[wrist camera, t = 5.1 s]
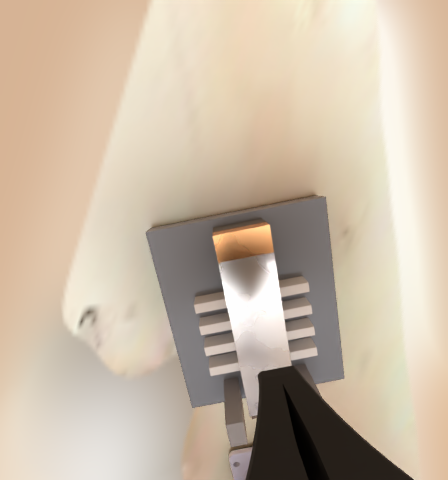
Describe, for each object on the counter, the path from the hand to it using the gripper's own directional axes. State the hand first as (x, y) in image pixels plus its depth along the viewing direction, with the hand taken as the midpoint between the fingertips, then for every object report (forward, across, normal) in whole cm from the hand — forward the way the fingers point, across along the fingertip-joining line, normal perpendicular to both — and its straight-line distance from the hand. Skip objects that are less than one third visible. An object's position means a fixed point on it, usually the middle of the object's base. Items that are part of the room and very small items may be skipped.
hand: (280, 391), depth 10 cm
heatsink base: (+9, 0, +1) cm, 9 cm away
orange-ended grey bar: (+6, 0, +1) cm, 6 cm away
